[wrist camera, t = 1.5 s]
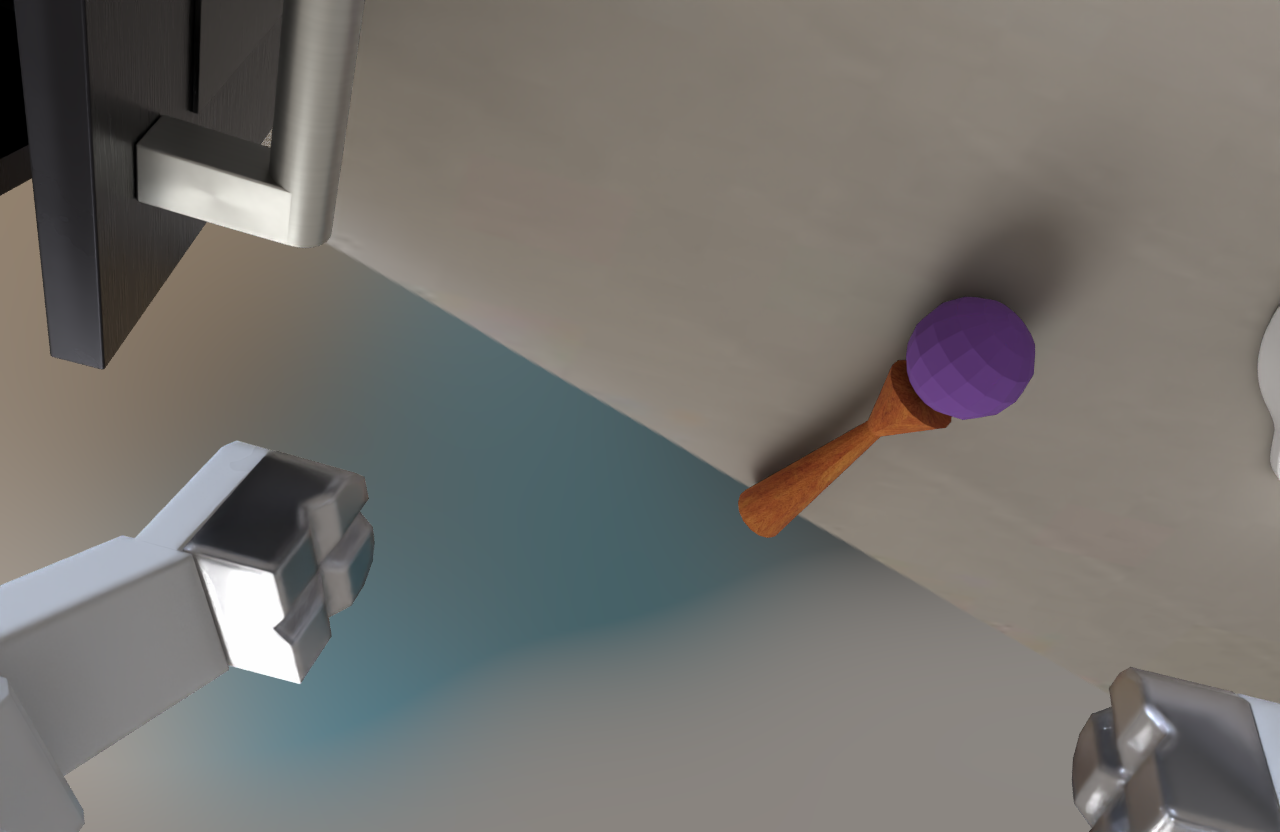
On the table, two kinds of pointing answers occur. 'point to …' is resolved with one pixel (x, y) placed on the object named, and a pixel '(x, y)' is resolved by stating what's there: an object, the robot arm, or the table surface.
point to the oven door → (174, 141)
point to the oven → (11, 106)
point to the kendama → (913, 400)
